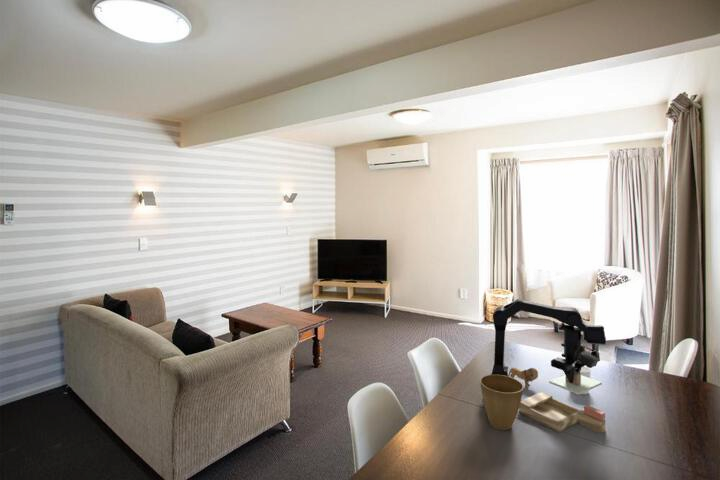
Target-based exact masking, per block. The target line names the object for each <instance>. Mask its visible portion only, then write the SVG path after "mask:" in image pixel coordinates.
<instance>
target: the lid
mask: <svg viewBox="0 0 720 480" xmlns="http://www.w3.org/2000/svg"><path fill="white" fill-rule="evenodd" d="M549 384H550V385H554V386H556V387H558V388H561V389H563V390H566V391H568V392H571V393H573V394H576V395H579V396H580V395H583V394H582V393H584V392H586V391H589V392H590V391H591V390H593V389H595V388H598V387H599V386H601V385H602V384H603V382H601V381H599V380H598V379H597V380H596V379H593V378H591V377H590V378H588V377H585V376H582V375H581V373H579V372H576V371H574V377H573V383H570V382H569V381H568V379H567V377H566V375H565V374H564V375H561V376H558V377H556V378H553V379H551V380H549Z"/></svg>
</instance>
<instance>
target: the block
mask: <svg viewBox="0 0 720 480" xmlns="http://www.w3.org/2000/svg"><path fill="white" fill-rule="evenodd" d="M583 410H584V413H585V414H587V415H590V416H592V417H594V418H596V419H599V420H601V421H602V420H604V419H605V420H606V412H605V411H603V410H600V409H598V408H596V407H593V406H590V405H588V404H586V405H584V406H583Z"/></svg>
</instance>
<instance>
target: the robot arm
mask: <svg viewBox="0 0 720 480" xmlns="http://www.w3.org/2000/svg"><path fill="white" fill-rule="evenodd" d="M519 312H526V313H530V314H535V315H539V316H543V317H548V318H551V319H555V320H557V321H558V322H561V323H560V324H559V325H557V328H558V330H559V331H563V342H561V344H560V345H561V347H563V353H561V357H559V356H558V357H556V358H553V359H551V360H550V367H553V368H556V369H558V370H561V371H563V374H564V375H566V377H567V379H568V381H569V382H570V383H573V377H574V371H576V372H579V373H580V371H581V368H582V367H584V366H585V367H588V368H589V369H592V368H593V367H597V364H598V362H600V361H601V359H600V352H599V351H597V350H593V351H590V350H586V347H585V345H584V344H582V340H583V341H585V342H586V344H593V345H603V346H605V345H606V342H607V338H606V335H605V327H604V326H603V325H601V324H600V325H599V324H598V325H591V324H586V322H585V321H584V320H583V319H582V315H581V313H580V311H579V310H578V309H577V308H575V307H570V306H569V307H568V306H551V305H545V304H542V303H537V302H534V301H528V300H523V299H521V298H517V299H515V300H514V301H512V302H510V303H508V304H506V305H504V306H497V307H496V308H495V309H494V311H493V315H492V321H493V326H494V330H495V332H494V333H495V334H494V335H495V337H494V355H493V356H494V359H493V361H494V362H493V365H492V367H493V368H492V371H491V373H490V375H504V376H508V375H509V372H508V371H509V366H505V343H506V341H505V340H506V327H507V325H508V321H509V320H508V319H510V318H512V317H513V316H515V315H516V314H518V313H519ZM482 401H483V398H482Z"/></svg>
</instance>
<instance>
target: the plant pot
mask: <svg viewBox="0 0 720 480" xmlns="http://www.w3.org/2000/svg"><path fill="white" fill-rule="evenodd" d="M479 384H480V390H481V391H480V392H481V395H482V399H483V400H482V401H483V405H484V408H485V409H484V410H485V412H486V415H487V418H488V422H489V423H490V426H492V427H493V428H495V429H496V428H497V430H499V429H500V431H508V429H509V430H511V428H512V427H513V424H514V423H515V420H516V419H517V415H518V413H519V406H520V403H521V401H522V398H523V393H524V384H523V383H522V382H521V381H520V380H518V379H516V378H515V377H514V378H512V377H510V376H509V377H508V376H504V375H491V374H487V375H484V376H481V378H480V379H479Z"/></svg>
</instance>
